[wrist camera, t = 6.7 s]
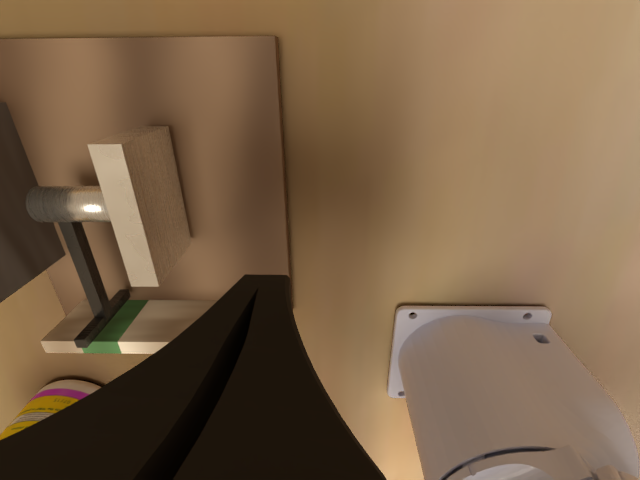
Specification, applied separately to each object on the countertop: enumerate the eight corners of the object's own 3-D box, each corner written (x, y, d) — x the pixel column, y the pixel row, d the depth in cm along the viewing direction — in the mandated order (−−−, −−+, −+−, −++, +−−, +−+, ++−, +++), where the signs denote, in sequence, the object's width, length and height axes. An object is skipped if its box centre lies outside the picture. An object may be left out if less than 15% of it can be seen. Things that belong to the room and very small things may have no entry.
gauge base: (277, 37, 15) (243, 19, 9) (292, 308, 22) (279, 405, 16) (-32, 41, 16) (-272, 25, 9) (77, 307, 22) (-20, 401, 16)
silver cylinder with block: (169, 125, 16) (121, 144, 12) (203, 296, 20) (175, 348, 16) (50, 126, 16) (-33, 144, 12) (109, 296, 20) (61, 347, 17)
